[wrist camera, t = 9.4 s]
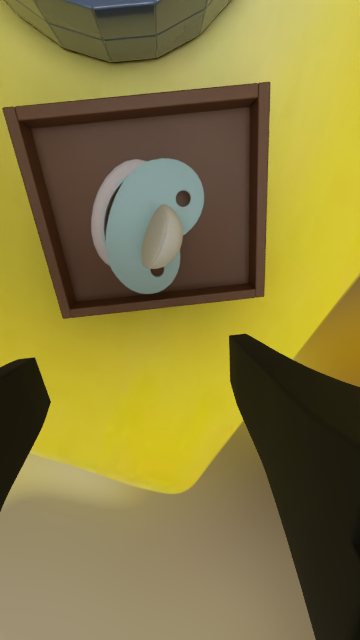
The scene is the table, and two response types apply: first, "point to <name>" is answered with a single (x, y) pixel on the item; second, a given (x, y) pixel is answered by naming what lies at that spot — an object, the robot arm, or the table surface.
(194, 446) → the table surface
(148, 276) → the pacifier
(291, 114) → the table surface
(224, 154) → the tray
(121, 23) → the bowl
